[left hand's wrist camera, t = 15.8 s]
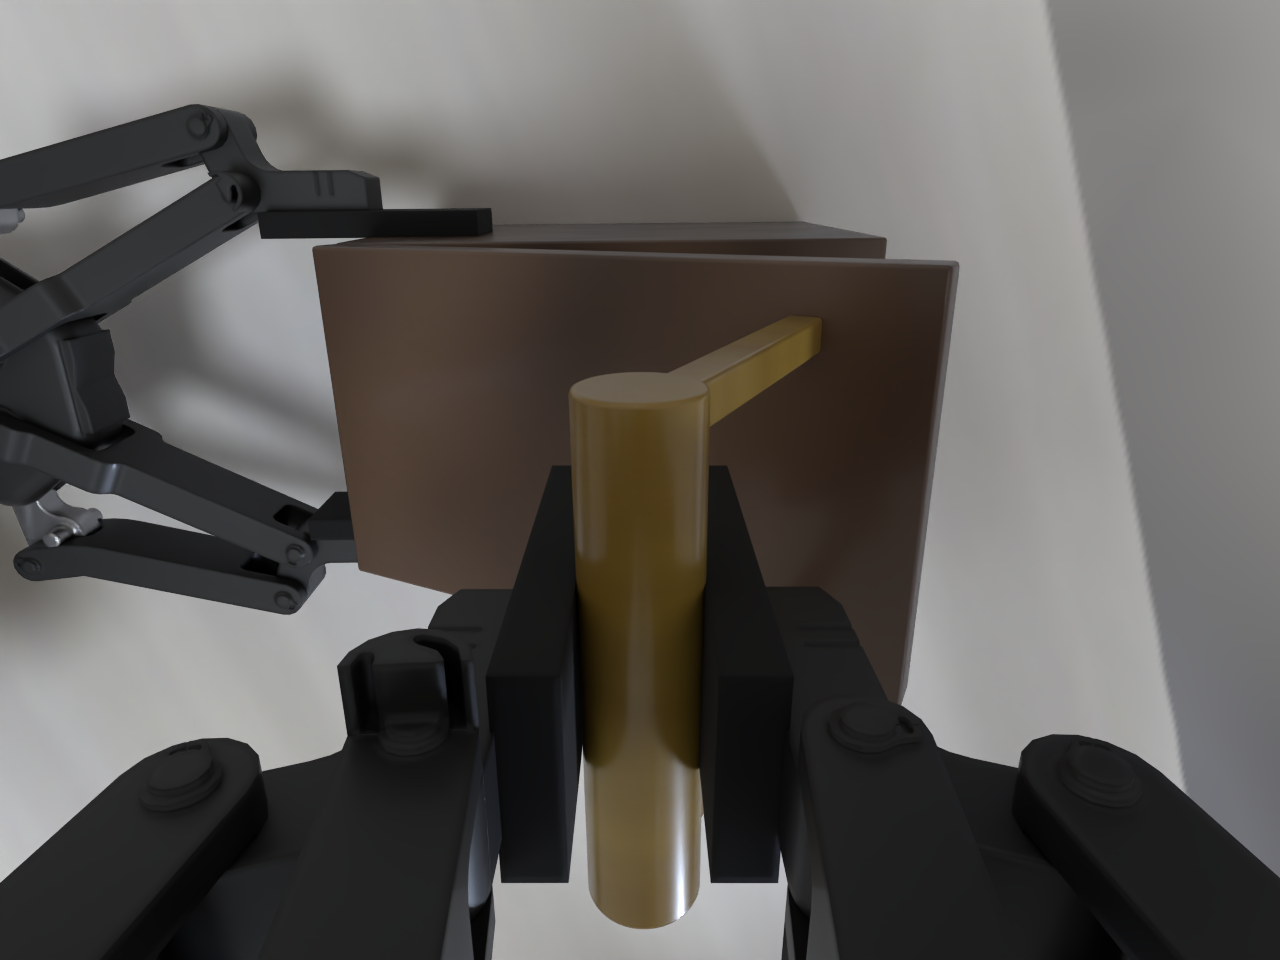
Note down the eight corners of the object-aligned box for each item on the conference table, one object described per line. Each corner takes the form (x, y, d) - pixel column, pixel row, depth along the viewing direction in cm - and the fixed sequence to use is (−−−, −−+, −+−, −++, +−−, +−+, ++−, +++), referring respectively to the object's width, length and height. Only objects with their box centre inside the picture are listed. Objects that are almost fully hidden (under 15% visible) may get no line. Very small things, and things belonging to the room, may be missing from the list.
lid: (961, 260, 15) (850, 340, 7) (907, 687, 18) (792, 1050, 10) (341, 243, 21) (-53, 275, 14) (383, 556, 24) (81, 721, 17)
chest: (804, 221, 32) (887, 237, 21) (791, 442, 35) (858, 549, 24) (432, 225, 32) (334, 243, 21) (453, 446, 35) (376, 555, 24)
